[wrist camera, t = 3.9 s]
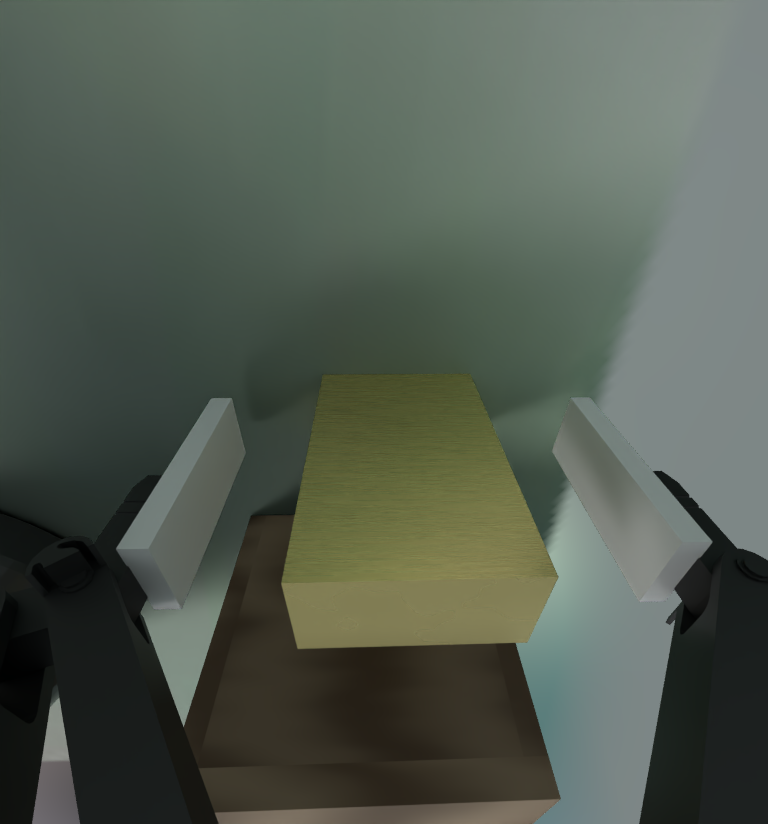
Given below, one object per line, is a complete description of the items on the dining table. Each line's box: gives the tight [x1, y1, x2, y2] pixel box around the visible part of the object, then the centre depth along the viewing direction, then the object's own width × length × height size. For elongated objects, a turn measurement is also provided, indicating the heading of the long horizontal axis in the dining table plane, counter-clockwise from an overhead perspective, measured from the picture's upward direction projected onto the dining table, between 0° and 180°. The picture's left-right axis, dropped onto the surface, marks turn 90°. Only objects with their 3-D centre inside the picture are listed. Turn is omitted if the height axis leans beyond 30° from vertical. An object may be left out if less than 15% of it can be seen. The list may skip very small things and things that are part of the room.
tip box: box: [184, 515, 561, 824], centre depth 19 cm, size 12×12×11 cm
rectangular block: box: [281, 374, 558, 649], centre depth 13 cm, size 6×3×9 cm, turn 89°
